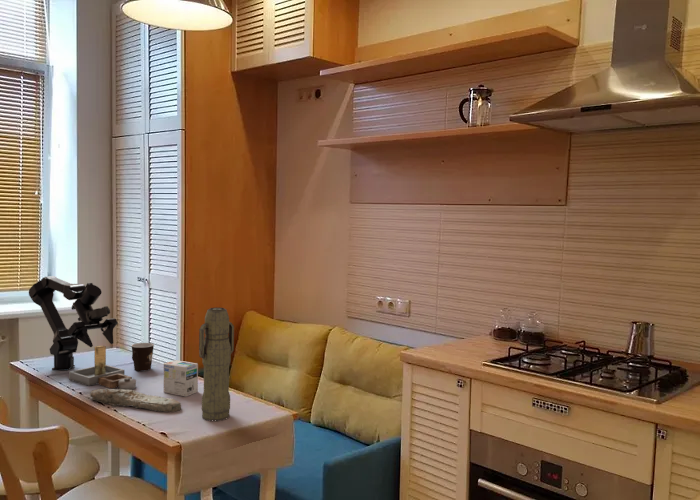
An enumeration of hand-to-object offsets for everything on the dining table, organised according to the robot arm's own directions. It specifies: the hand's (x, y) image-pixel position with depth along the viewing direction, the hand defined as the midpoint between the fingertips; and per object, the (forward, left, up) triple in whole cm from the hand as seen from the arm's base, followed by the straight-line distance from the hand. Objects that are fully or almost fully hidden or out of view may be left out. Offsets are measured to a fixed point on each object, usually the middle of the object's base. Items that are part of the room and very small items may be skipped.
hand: (102, 345), depth 236 cm
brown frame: (+10, -6, -13) cm, 18 cm away
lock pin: (-1, 0, -13) cm, 13 cm away
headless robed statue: (+54, -33, -14) cm, 65 cm away
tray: (-3, +1, -13) cm, 14 cm away
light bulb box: (+34, -10, -14) cm, 38 cm away
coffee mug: (+8, +16, -14) cm, 22 cm away
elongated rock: (+24, -25, -14) cm, 38 cm away
